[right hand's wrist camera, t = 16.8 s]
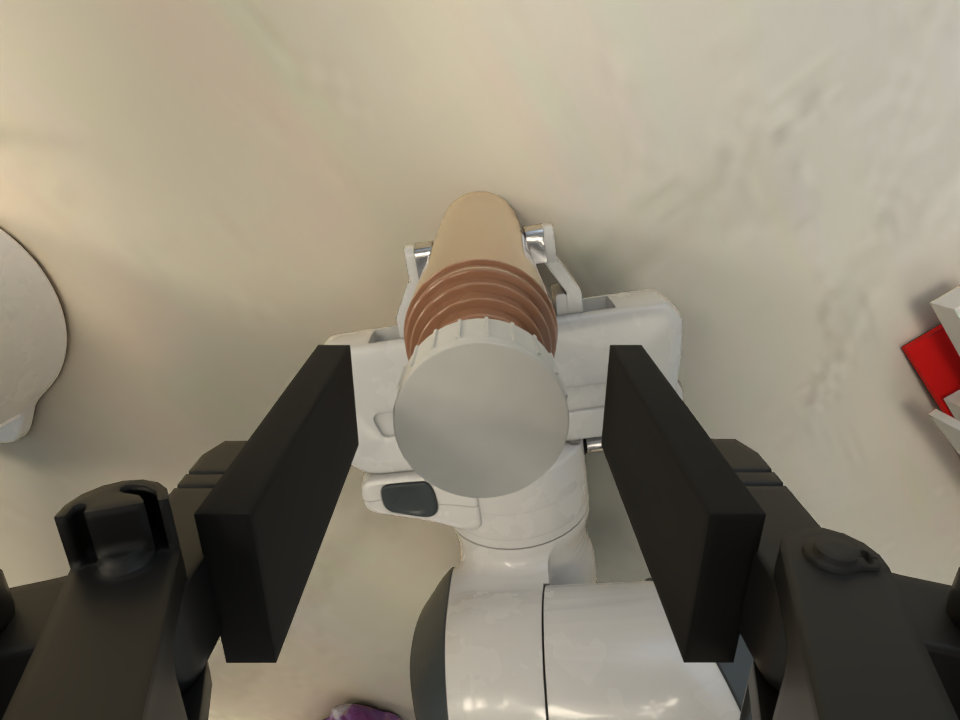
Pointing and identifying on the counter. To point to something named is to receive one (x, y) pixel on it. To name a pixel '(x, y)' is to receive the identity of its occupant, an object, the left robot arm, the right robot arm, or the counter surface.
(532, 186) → the counter surface
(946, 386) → the toy
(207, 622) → the right robot arm
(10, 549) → the counter surface
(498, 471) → the cap
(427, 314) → the bottle
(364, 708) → the figurine
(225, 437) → the counter surface
